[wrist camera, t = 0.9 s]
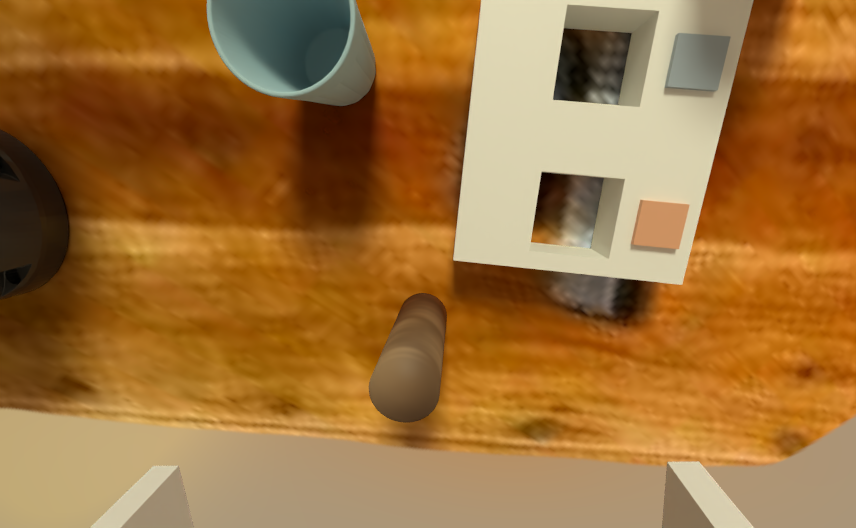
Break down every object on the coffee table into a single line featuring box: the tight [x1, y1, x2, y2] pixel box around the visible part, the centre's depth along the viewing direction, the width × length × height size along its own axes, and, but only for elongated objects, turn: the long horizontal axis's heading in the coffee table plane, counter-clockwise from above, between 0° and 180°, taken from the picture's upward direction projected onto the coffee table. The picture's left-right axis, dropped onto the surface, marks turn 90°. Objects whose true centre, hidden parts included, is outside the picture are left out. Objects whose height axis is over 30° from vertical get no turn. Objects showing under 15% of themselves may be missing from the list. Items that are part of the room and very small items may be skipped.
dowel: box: [369, 293, 447, 422], centre depth 28 cm, size 4×4×12 cm
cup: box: [207, 0, 376, 106], centre depth 25 cm, size 8×8×10 cm
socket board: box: [453, 0, 753, 285], centre depth 28 cm, size 16×18×4 cm
